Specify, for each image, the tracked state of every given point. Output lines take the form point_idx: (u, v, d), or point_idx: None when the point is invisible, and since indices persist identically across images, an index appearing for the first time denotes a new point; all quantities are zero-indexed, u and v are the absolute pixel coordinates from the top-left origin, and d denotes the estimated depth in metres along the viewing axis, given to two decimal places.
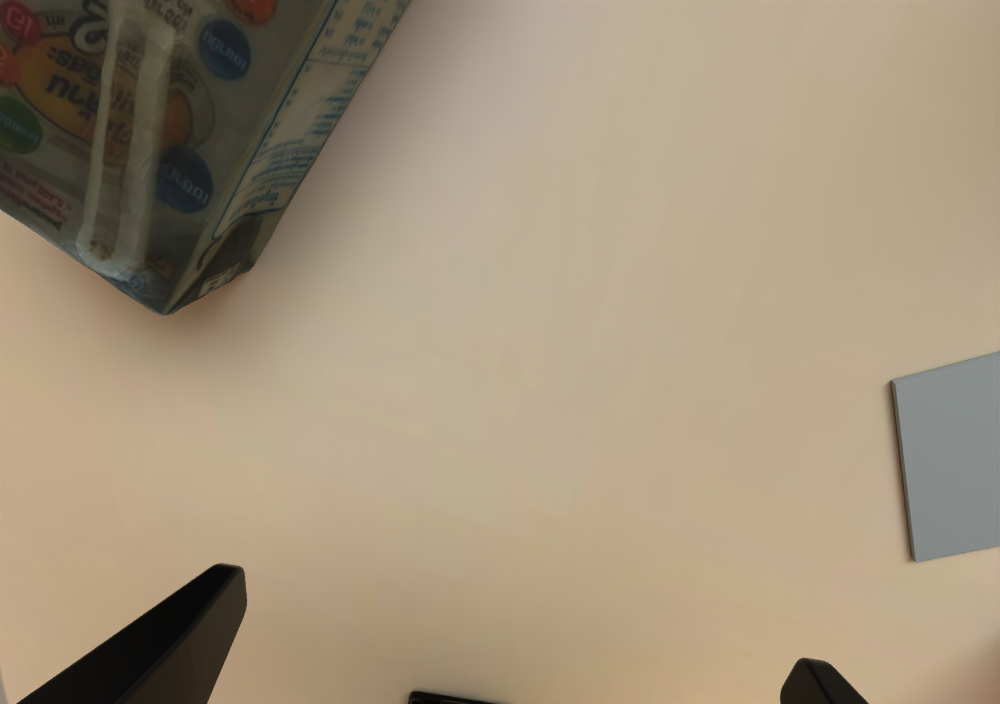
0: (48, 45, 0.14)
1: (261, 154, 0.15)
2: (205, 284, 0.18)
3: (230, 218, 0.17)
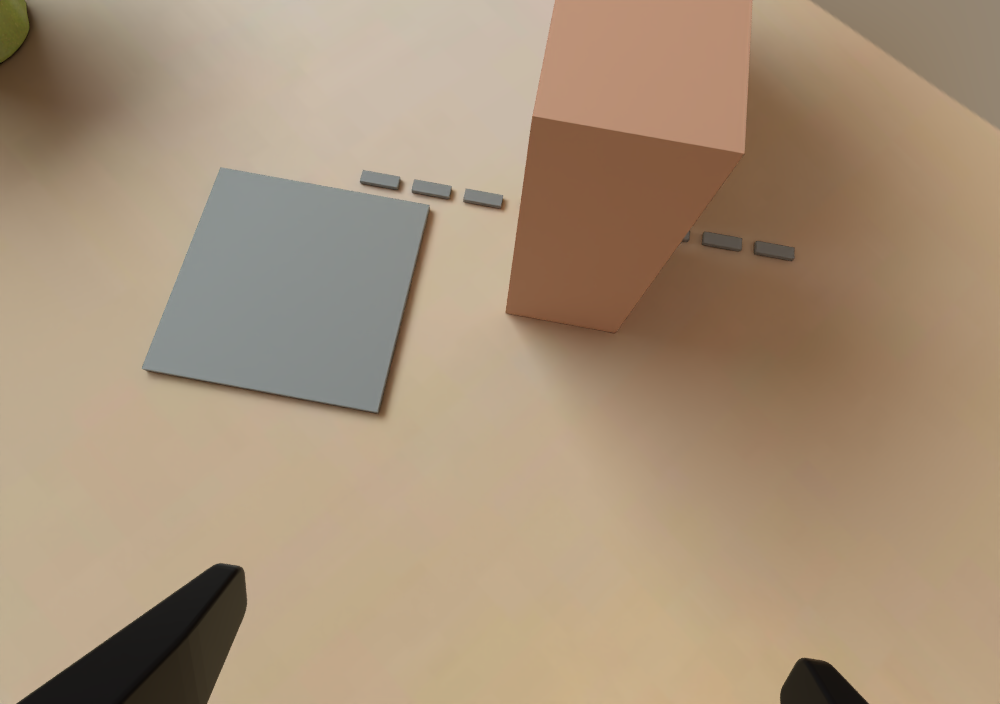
0: None
1: None
2: None
3: None
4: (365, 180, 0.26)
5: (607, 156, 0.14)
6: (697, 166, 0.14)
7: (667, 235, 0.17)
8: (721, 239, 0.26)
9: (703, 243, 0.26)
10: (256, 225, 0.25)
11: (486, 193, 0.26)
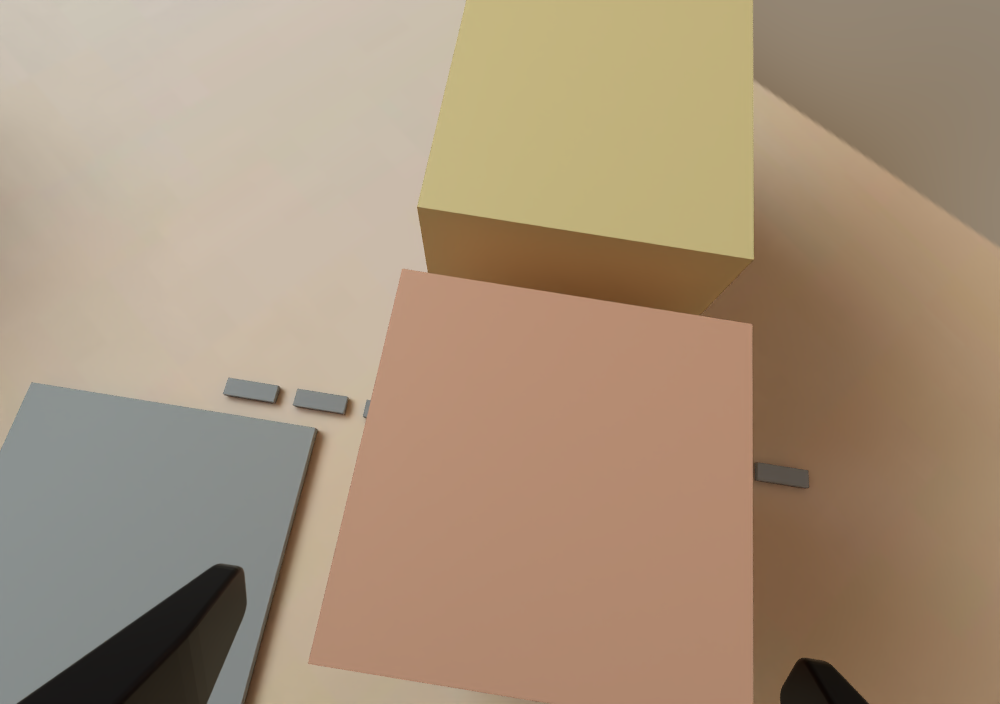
0: None
1: None
2: None
3: None
4: (230, 393, 0.20)
5: None
6: None
7: None
8: None
9: None
10: (73, 469, 0.18)
11: None
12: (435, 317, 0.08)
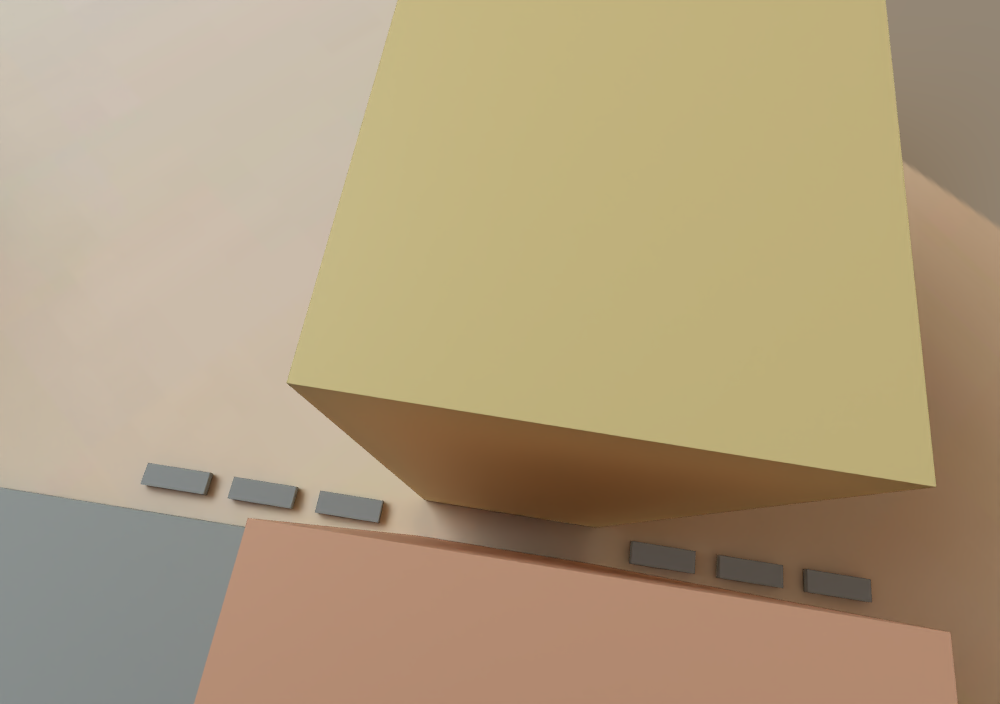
0: None
1: None
2: None
3: None
4: (150, 483, 0.16)
5: None
6: None
7: None
8: (748, 569, 0.16)
9: (719, 576, 0.16)
10: None
11: (354, 498, 0.16)
12: (307, 633, 0.04)
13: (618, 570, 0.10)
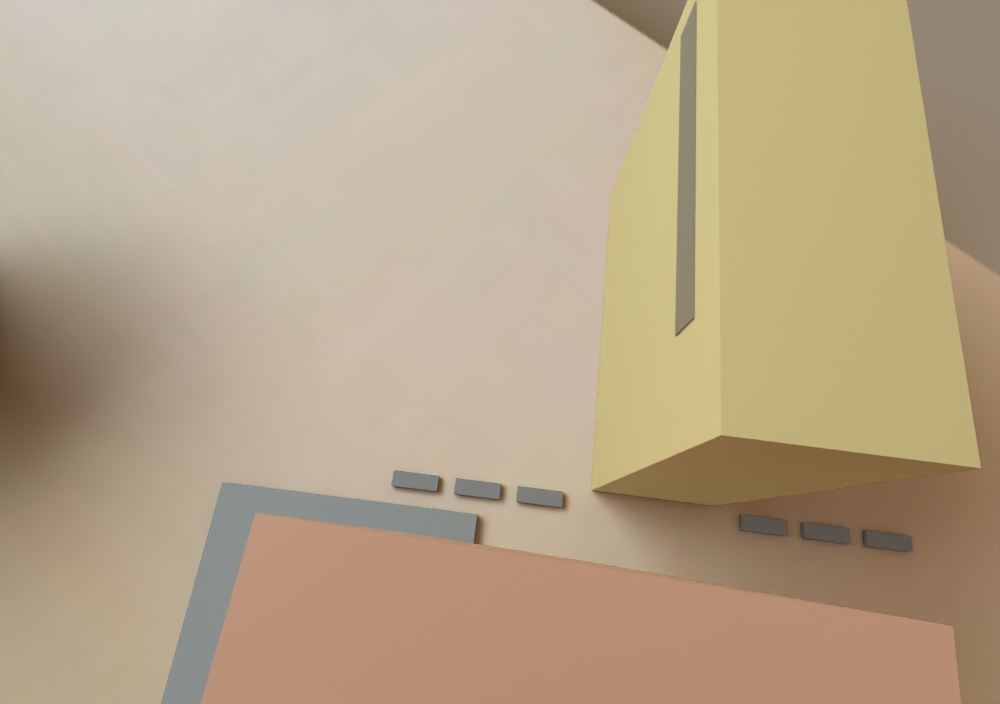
0: None
1: None
2: None
3: None
4: (398, 484, 0.22)
5: None
6: None
7: None
8: (824, 531, 0.22)
9: (804, 537, 0.22)
10: None
11: (543, 490, 0.22)
12: (314, 626, 0.04)
13: (620, 568, 0.10)
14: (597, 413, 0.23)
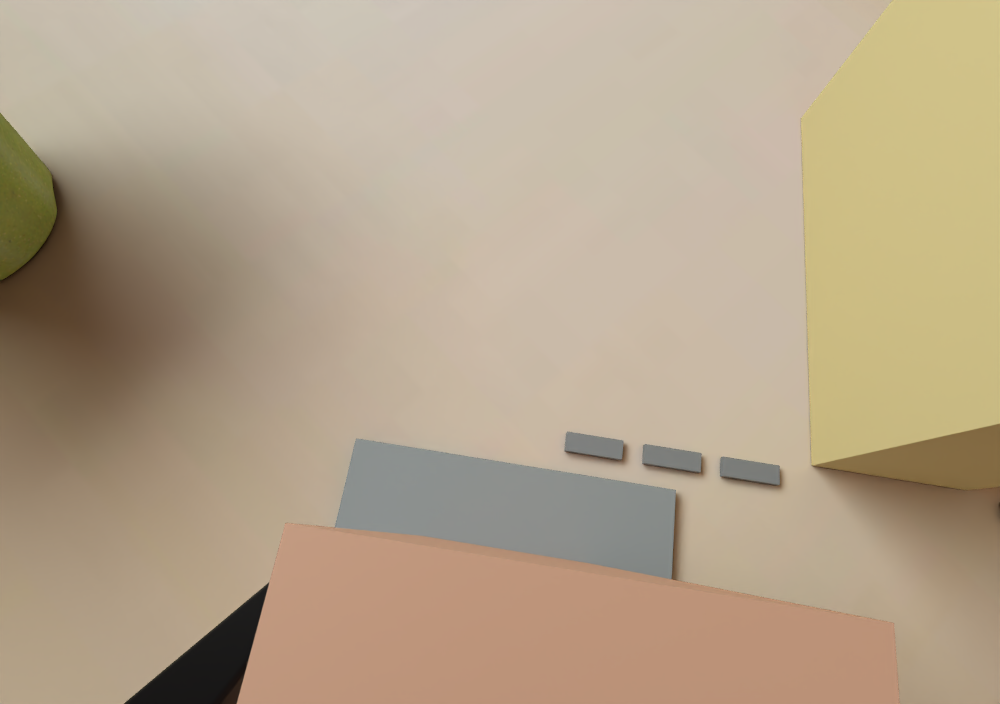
0: None
1: None
2: None
3: None
4: (573, 449, 0.17)
5: None
6: None
7: None
8: None
9: None
10: None
11: (754, 463, 0.18)
12: (338, 622, 0.04)
13: (613, 569, 0.10)
14: (813, 371, 0.19)
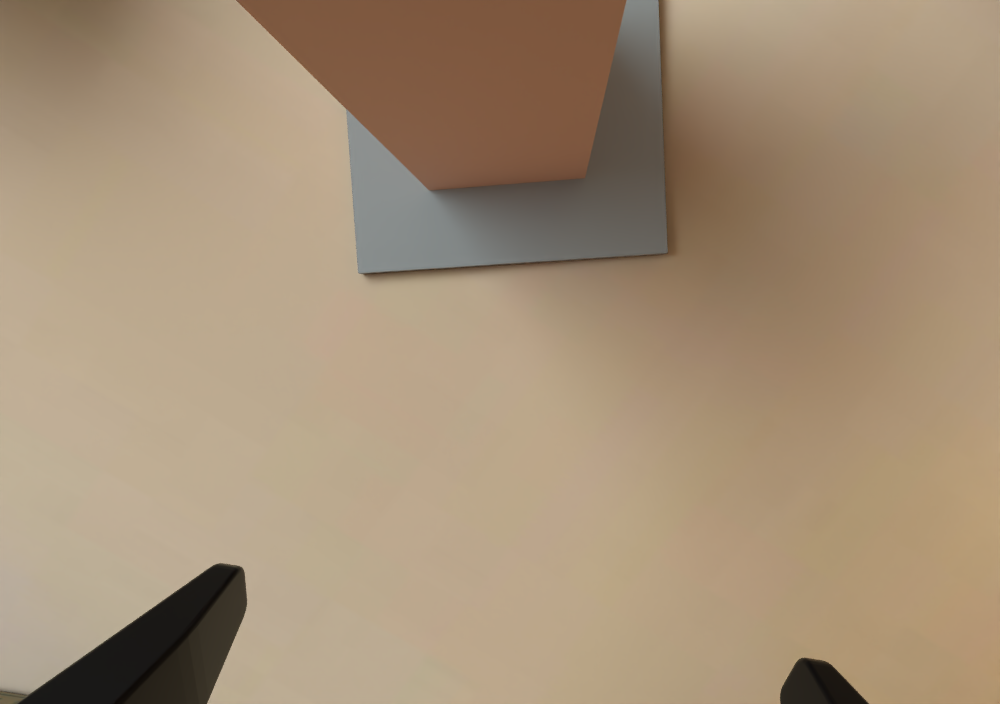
0: None
1: None
2: None
3: None
4: None
5: None
6: None
7: (583, 53, 0.09)
8: None
9: None
10: None
11: None
12: None
13: None
14: None
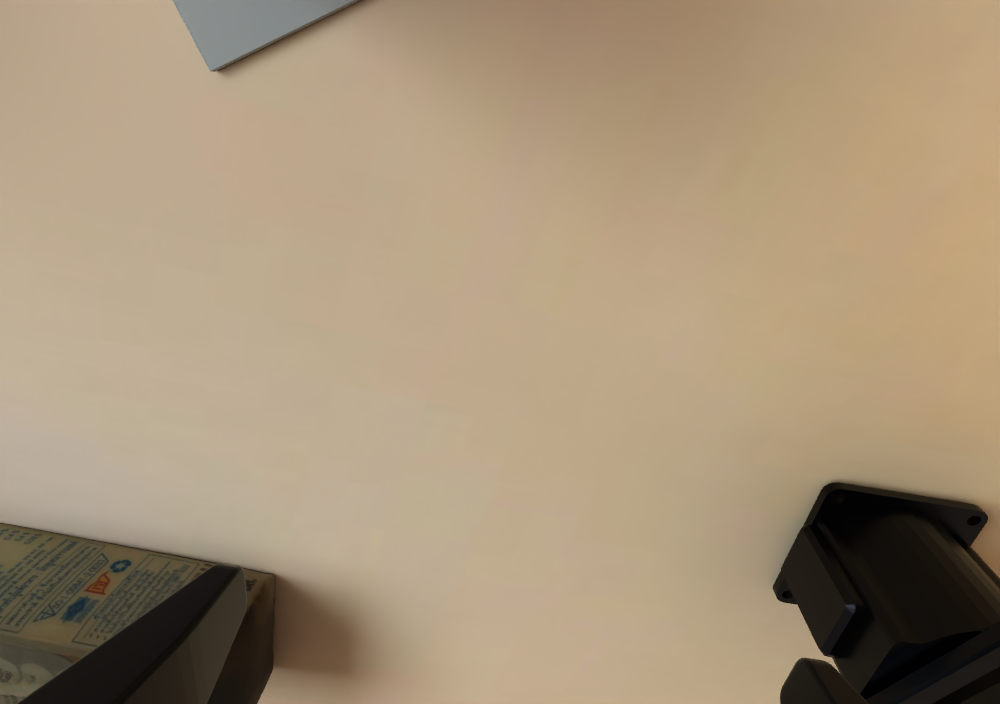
0: None
1: None
2: None
3: None
4: None
5: None
6: None
7: None
8: None
9: None
10: None
11: None
12: None
13: None
14: None
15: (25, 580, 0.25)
